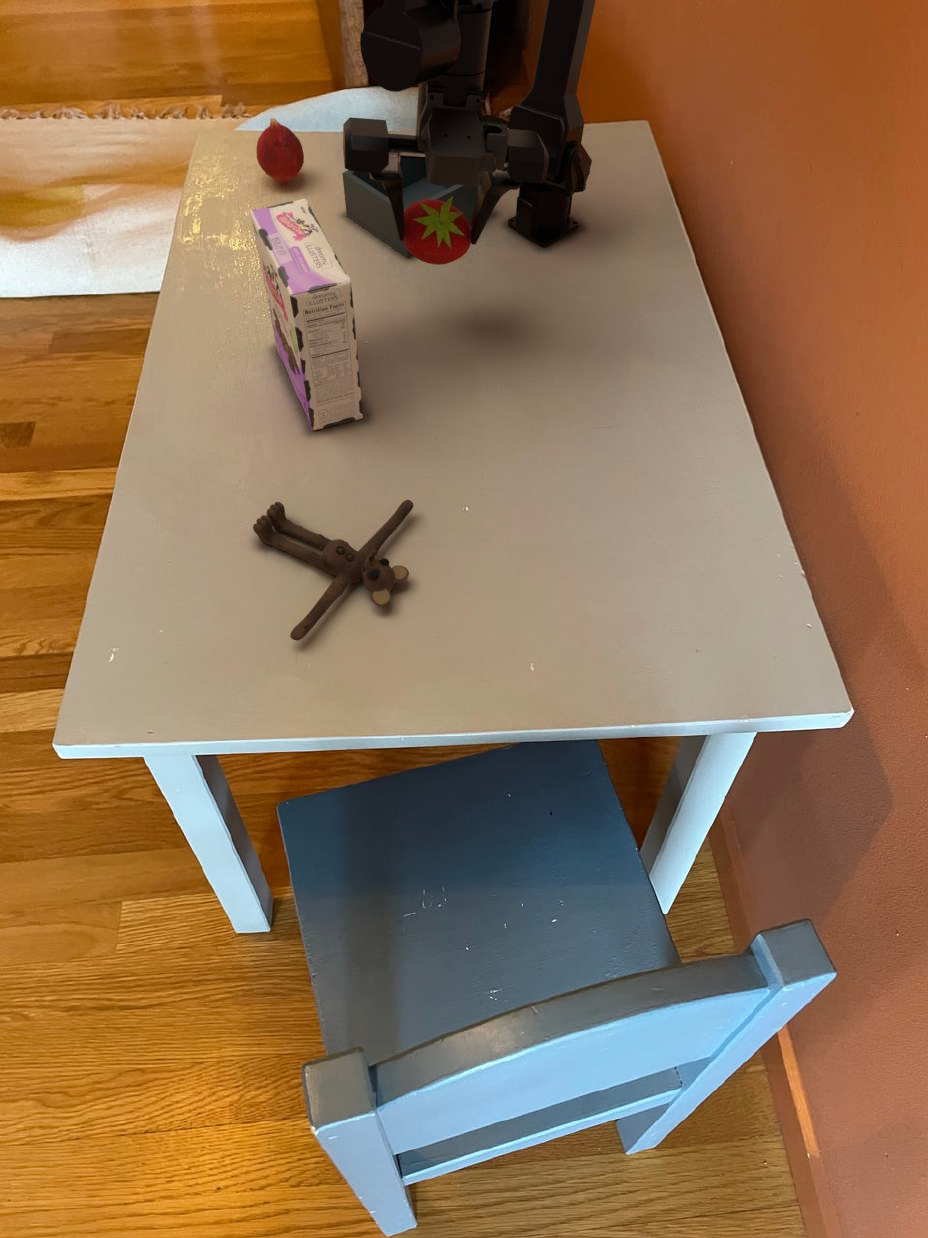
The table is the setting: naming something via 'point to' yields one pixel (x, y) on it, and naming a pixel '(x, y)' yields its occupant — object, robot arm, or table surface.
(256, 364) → the table surface
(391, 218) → the bin
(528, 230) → the robot arm
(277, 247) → the candy box
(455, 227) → the strawberry
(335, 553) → the bear figurine
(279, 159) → the onion
